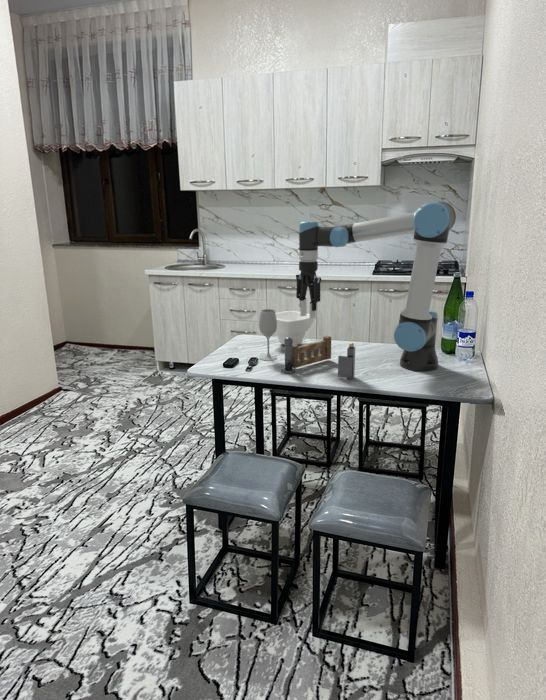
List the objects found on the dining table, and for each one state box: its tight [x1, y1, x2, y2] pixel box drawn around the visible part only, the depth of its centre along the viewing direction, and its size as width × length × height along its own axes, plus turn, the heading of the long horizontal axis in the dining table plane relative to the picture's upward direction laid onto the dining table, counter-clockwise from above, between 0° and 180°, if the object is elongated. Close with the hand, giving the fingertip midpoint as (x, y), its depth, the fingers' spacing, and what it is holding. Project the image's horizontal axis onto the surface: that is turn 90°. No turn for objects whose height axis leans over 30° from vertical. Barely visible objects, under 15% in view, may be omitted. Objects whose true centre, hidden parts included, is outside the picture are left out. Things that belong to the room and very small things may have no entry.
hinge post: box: [280, 337, 297, 375], centre depth 206 cm, size 6×6×14 cm
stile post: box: [337, 342, 356, 380], centre depth 198 cm, size 5×5×14 cm
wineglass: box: [258, 308, 278, 362], centre depth 223 cm, size 8×8×21 cm
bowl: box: [275, 310, 316, 346], centre depth 244 cm, size 19×19×14 cm
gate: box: [292, 335, 332, 369], centre depth 214 cm, size 20×2×10 cm, turn 129°
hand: (308, 316), depth 217 cm, fingers open, 5 cm apart
